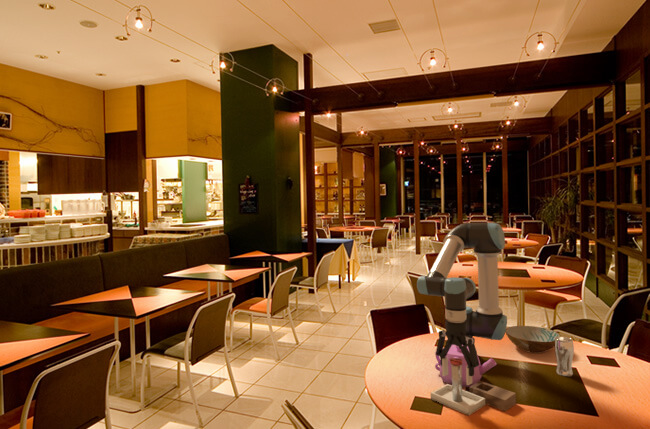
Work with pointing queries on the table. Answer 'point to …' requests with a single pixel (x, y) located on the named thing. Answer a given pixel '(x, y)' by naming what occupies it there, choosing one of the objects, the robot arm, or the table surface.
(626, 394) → the table surface
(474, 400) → the tray
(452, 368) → the red capped grey tube
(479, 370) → the teapot
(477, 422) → the table surface
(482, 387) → the block
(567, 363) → the beer glass
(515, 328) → the bowl
